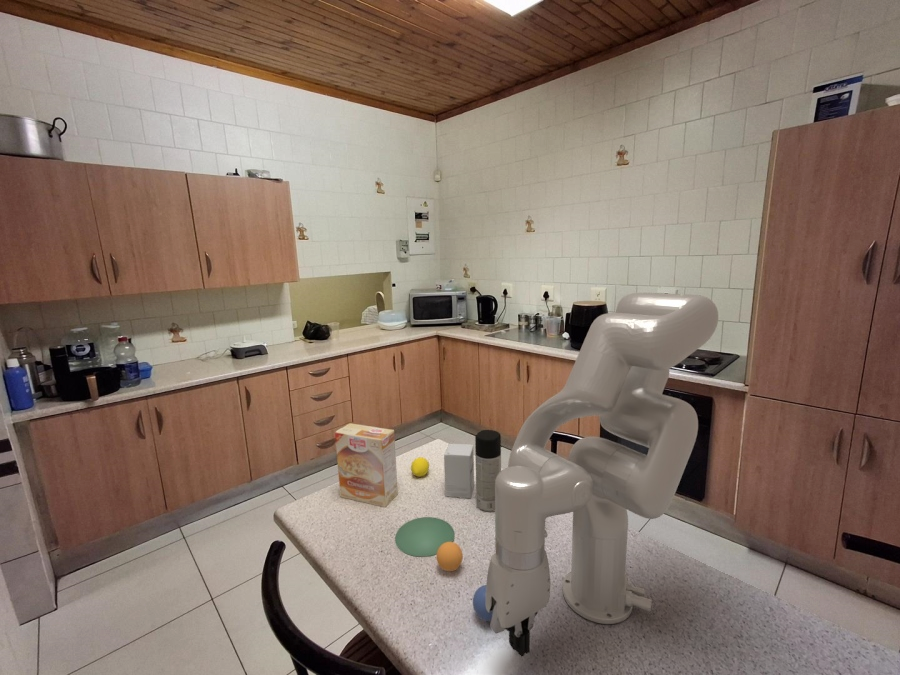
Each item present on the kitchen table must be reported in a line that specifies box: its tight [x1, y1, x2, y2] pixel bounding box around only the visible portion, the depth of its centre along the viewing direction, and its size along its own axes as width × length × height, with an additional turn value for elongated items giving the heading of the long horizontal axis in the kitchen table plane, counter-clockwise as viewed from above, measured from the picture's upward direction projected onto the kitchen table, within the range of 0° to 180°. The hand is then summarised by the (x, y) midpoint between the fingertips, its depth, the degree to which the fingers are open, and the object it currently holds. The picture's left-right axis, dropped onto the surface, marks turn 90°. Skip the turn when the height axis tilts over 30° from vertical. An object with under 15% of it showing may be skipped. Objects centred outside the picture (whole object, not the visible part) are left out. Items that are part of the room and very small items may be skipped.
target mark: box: [394, 516, 456, 558], centre depth 97 cm, size 14×14×1 cm
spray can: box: [474, 429, 502, 512], centre depth 107 cm, size 7×7×20 cm
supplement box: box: [443, 443, 475, 499], centre depth 114 cm, size 7×7×13 cm
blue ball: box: [472, 584, 493, 622], centre depth 74 cm, size 6×6×6 cm
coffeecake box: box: [334, 422, 399, 508], centre depth 113 cm, size 15×7×20 cm, turn 67°
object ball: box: [436, 541, 464, 572], centre depth 86 cm, size 6×6×6 cm
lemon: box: [410, 456, 430, 478], centre depth 125 cm, size 7×5×5 cm
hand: (519, 647), depth 67 cm, fingers closed
